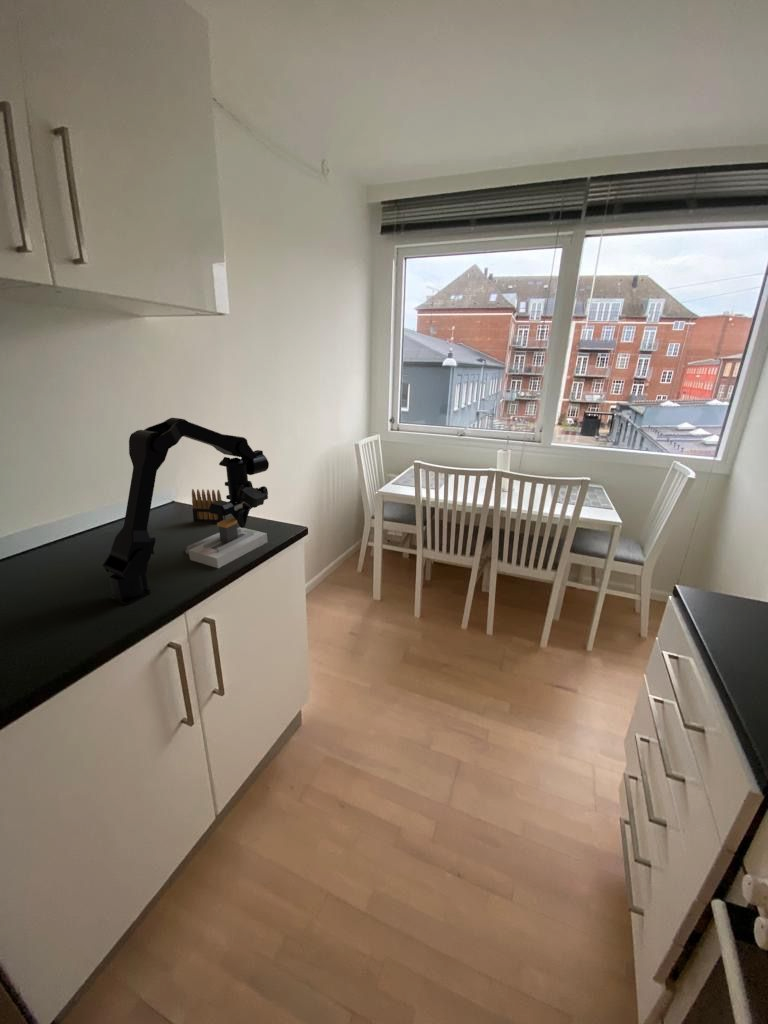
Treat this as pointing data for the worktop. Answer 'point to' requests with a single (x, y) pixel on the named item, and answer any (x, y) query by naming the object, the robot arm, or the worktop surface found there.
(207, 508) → the ammunition clip
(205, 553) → the breaker panel
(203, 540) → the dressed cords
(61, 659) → the worktop surface
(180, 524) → the worktop surface
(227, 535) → the breaker lever
